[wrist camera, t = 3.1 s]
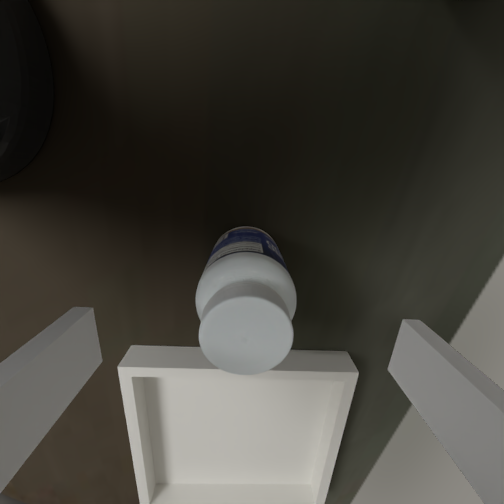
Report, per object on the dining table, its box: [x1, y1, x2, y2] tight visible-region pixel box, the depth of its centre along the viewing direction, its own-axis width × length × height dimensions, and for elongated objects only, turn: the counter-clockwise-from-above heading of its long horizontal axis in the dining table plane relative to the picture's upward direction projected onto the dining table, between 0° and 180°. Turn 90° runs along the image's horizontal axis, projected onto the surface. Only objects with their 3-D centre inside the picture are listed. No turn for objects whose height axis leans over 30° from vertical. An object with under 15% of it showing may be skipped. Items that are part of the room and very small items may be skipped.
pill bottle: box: [196, 226, 297, 375], centre depth 14 cm, size 5×5×10 cm
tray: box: [118, 345, 359, 504], centre depth 24 cm, size 20×20×2 cm
